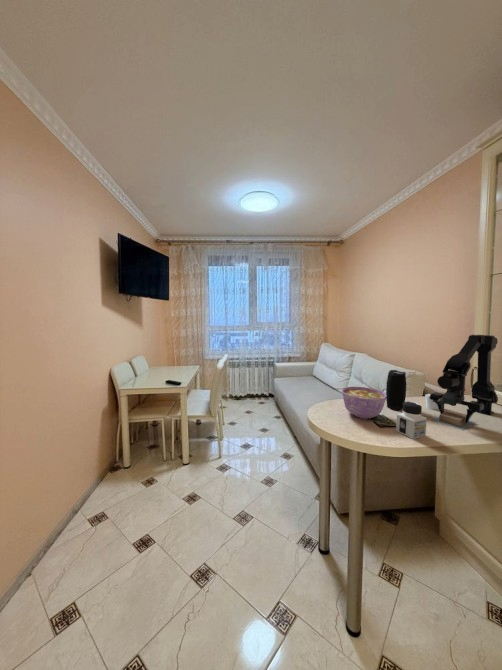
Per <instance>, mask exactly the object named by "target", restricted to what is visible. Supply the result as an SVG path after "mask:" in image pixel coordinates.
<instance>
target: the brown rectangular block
mask: <svg viewBox="0 0 502 670" xmlns="http://www.w3.org/2000/svg"><path fill="white" fill-rule="evenodd" d="M466 415H467V413H462V412H458V411H455V410H451V409H448V410H447V411H444V413H442V414H441V413H440V414H439V416H440V417H439V416H438V417H439V421H441V422H444V423H447V424H450V425H453V426H457V427H460V426H462V425H464V424H465V423H466Z"/></svg>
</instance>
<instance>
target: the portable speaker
mask: <svg viewBox="0 0 502 670" xmlns="http://www.w3.org/2000/svg"><path fill="white" fill-rule="evenodd" d="M406 373H407V372H405V371H399V370H397V369H390V370H389V371H388V373H387V378H386V385H385V387H386V388H385V389H386V390H385V391H386V392H385V394H386V395H387V397H386V400H385V402H386V407H387V408H392V409H393V410H394V411H403V403H404V402H406V398H407V396H406V395H407V378H406V377H407V376H406V375H407V374H406Z"/></svg>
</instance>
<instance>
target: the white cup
mask: <svg viewBox="0 0 502 670" xmlns="http://www.w3.org/2000/svg"><path fill="white" fill-rule="evenodd" d="M430 394H431V393H426V394H424V395H425V408H427V409H429V410H433V411H434V410H435V411H440V410H439V408H438V405H437V404H436V403H435V402H433V400H431V399H430Z"/></svg>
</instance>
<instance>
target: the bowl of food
mask: <svg viewBox="0 0 502 670" xmlns="http://www.w3.org/2000/svg"><path fill="white" fill-rule="evenodd" d="M341 393H342V398H343V402H344V403H343V404H344V408H345V409H346V410H347V411H348V412H349V413H350V414H352V415H353V416H354V415H355V416H354V417H356V416H357V417H356V418H358V417H360V418H359V419H363V418H369V419H371V418H375V417H378V416H379V415H380V414H381V413H382V411H383V408H384V406H385V403H386V397H387V395H386V392H384V391H382V390H379V389H376V388H372V387H366V386H346V387H344V388H342V389H341Z"/></svg>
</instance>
